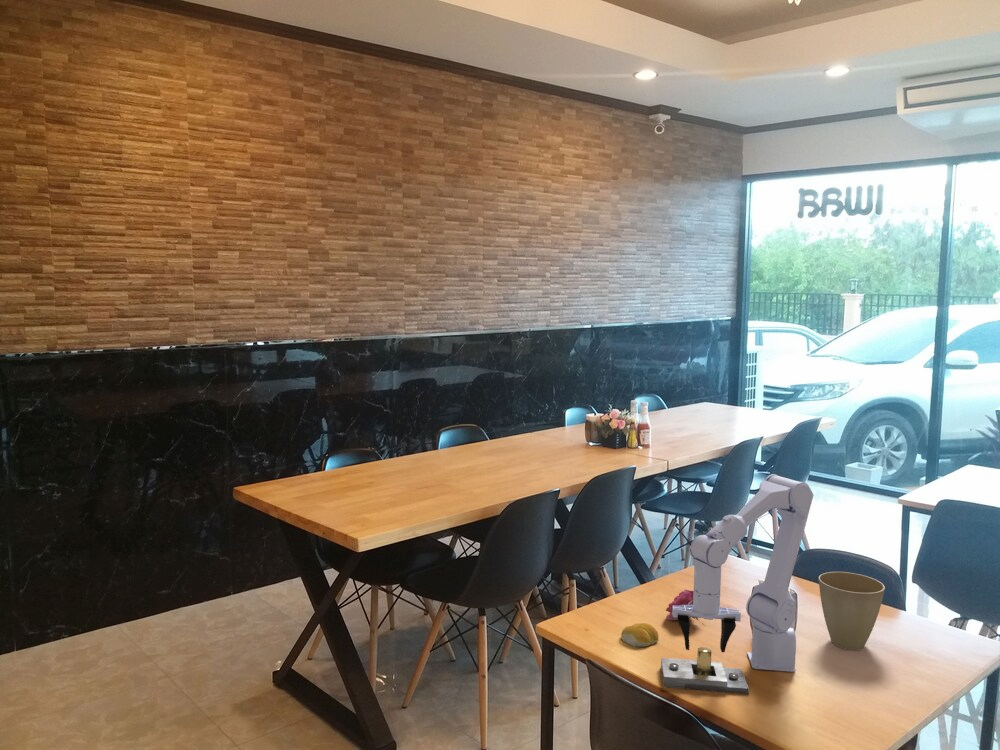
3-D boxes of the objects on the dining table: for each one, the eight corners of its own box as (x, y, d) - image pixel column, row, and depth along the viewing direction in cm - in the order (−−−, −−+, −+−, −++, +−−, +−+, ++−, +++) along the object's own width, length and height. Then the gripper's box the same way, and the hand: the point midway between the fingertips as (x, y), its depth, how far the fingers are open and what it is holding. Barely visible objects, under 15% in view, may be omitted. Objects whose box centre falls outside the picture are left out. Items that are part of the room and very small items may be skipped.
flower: (661, 631, 204) (655, 593, 209) (695, 631, 206) (689, 593, 211) (679, 622, 195) (673, 582, 200) (715, 622, 197) (708, 583, 202)
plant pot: (894, 653, 186) (899, 589, 184) (845, 661, 182) (849, 596, 180) (849, 627, 200) (853, 568, 199) (802, 634, 196) (805, 574, 194)
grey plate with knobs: (741, 673, 175) (741, 661, 174) (748, 694, 166) (749, 680, 165) (660, 667, 177) (661, 655, 177) (663, 687, 168) (664, 674, 168)
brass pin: (708, 677, 173) (710, 647, 172) (711, 684, 170) (712, 653, 169) (695, 676, 173) (696, 647, 172) (697, 683, 170) (698, 653, 169)
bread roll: (664, 641, 191) (665, 626, 191) (639, 650, 186) (639, 635, 186) (640, 629, 198) (640, 614, 197) (615, 638, 193) (615, 623, 192)
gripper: (675, 595, 166) (673, 654, 168) (744, 599, 164) (741, 659, 166) (672, 583, 173) (670, 640, 175) (738, 587, 171) (736, 645, 173)
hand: (704, 649), depth 171 cm, fingers open, 7 cm apart
